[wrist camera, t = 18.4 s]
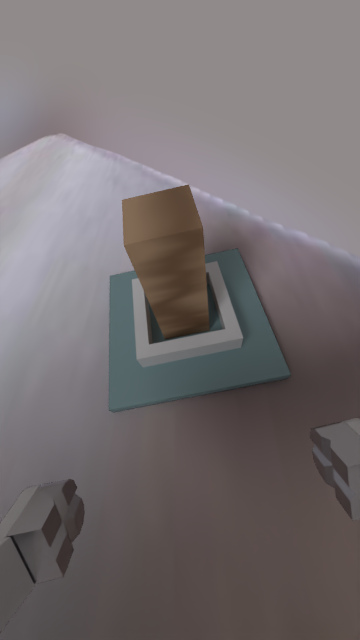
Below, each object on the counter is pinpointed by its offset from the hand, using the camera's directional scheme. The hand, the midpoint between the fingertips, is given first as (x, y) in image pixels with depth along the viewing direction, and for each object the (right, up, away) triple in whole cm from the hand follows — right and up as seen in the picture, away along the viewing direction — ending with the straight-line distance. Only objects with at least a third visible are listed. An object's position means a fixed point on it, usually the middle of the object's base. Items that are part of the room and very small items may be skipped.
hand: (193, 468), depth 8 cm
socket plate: (0, +5, +17) cm, 18 cm away
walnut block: (0, +5, +16) cm, 17 cm away
